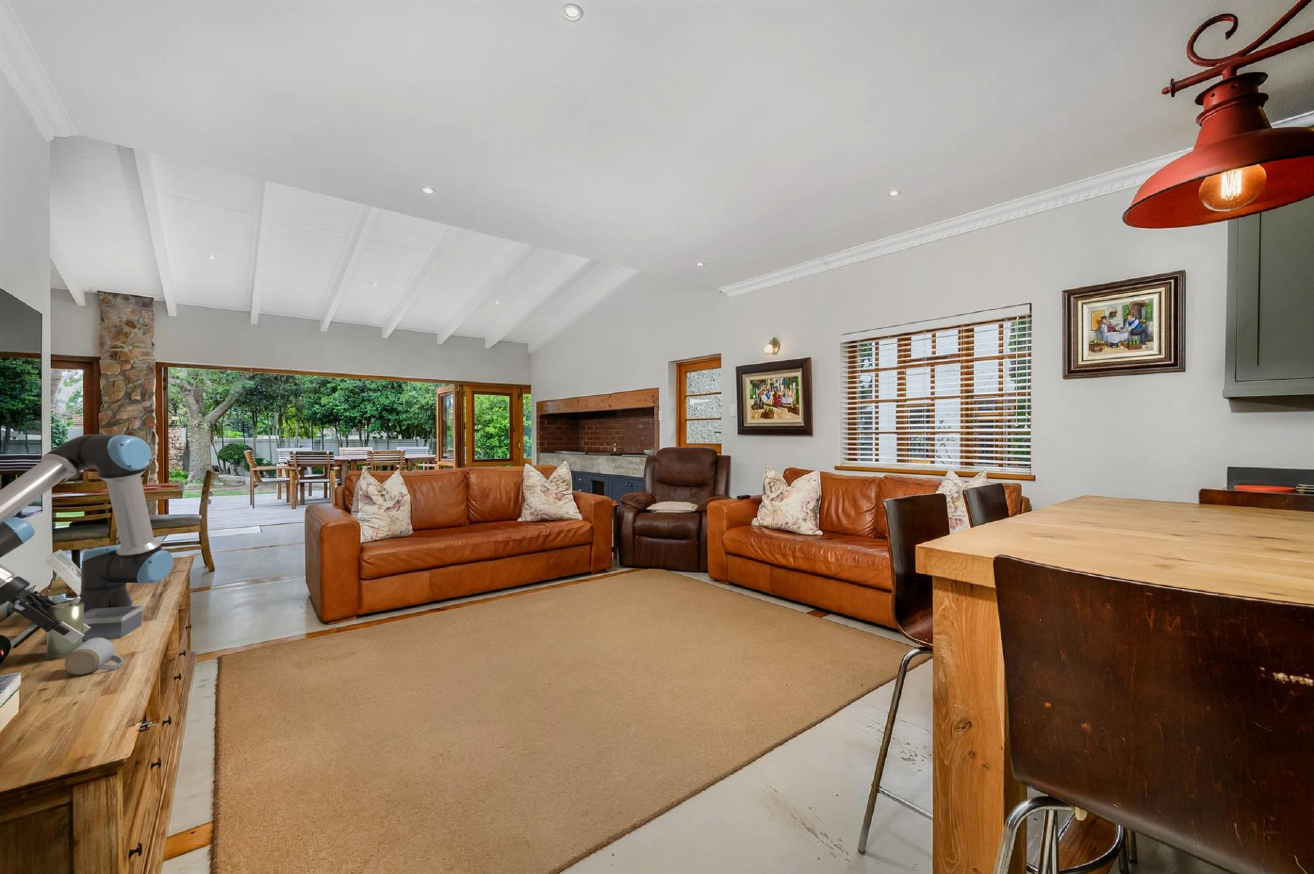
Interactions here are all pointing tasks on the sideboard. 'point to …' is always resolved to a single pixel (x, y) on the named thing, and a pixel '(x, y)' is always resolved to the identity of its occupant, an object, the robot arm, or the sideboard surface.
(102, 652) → the ceramic mug
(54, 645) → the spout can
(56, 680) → the sideboard surface
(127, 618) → the grey rectangular tray
